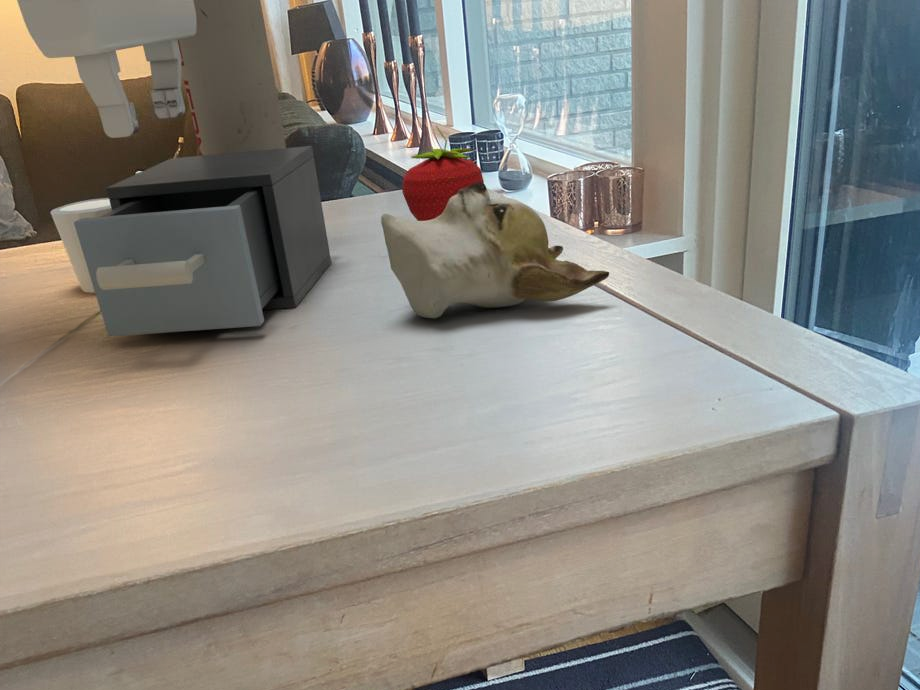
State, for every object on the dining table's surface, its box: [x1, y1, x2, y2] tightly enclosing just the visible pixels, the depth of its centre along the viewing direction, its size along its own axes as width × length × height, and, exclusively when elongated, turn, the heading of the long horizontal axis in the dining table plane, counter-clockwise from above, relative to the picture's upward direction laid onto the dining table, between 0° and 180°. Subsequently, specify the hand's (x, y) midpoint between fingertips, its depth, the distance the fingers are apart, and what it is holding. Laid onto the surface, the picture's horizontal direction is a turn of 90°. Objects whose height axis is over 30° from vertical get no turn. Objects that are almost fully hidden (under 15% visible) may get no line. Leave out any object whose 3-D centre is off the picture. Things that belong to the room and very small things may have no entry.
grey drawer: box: [74, 186, 282, 337], centre depth 70 cm, size 18×11×8 cm, turn 176°
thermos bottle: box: [177, 0, 287, 156], centre depth 86 cm, size 8×8×28 cm
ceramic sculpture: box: [380, 182, 610, 319], centre depth 68 cm, size 11×9×15 cm
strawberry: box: [401, 125, 485, 221], centre depth 84 cm, size 6×8×10 cm
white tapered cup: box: [50, 197, 112, 294], centre depth 84 cm, size 7×7×7 cm
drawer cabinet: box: [105, 145, 332, 311], centre depth 79 cm, size 15×13×10 cm
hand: (149, 126), depth 65 cm, fingers open, 8 cm apart
